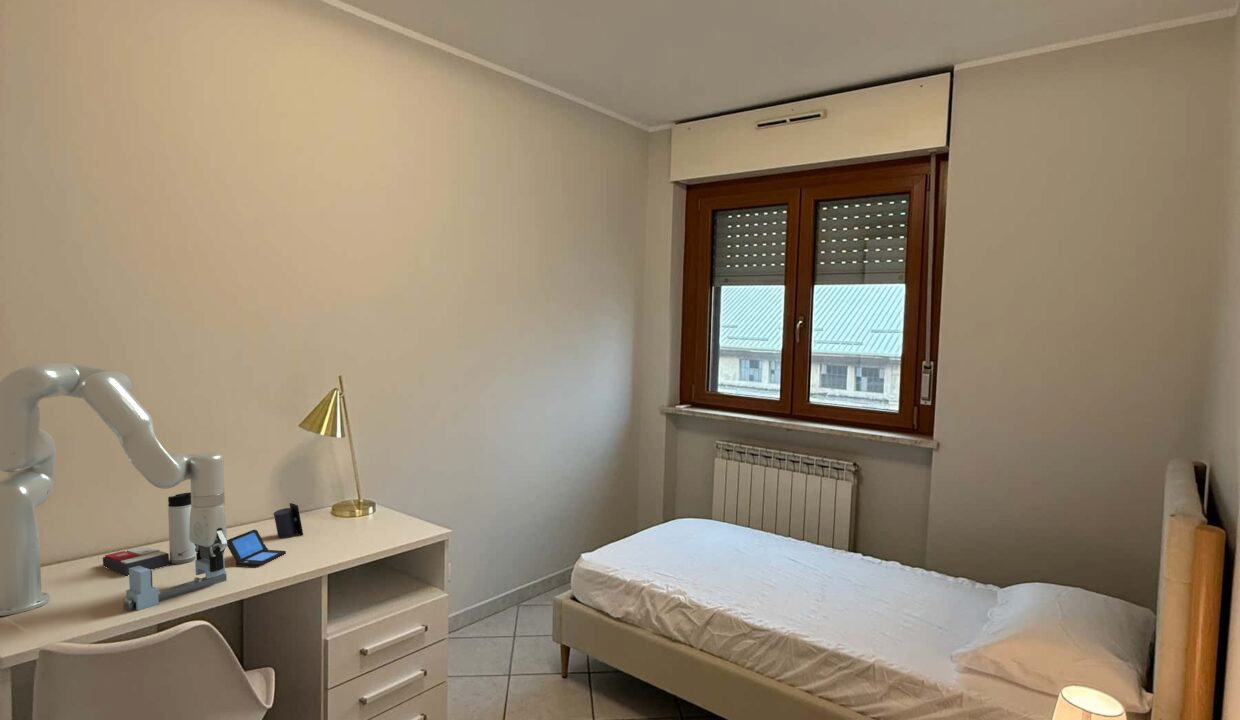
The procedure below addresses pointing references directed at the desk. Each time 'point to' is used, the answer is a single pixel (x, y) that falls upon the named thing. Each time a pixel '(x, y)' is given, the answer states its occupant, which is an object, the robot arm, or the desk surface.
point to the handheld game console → (251, 550)
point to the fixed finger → (142, 588)
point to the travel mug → (180, 529)
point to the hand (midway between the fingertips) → (210, 567)
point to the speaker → (288, 521)
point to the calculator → (136, 559)
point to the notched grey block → (207, 563)
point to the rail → (181, 589)
